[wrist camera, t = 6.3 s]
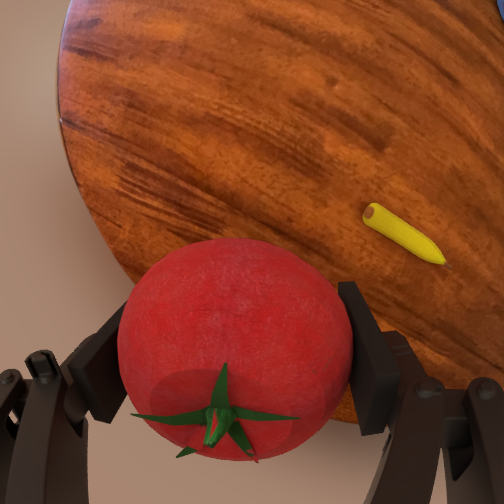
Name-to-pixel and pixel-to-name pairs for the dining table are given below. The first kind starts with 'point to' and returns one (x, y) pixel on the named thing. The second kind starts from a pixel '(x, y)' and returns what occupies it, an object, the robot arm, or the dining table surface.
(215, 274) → the tomato
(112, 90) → the dining table surface
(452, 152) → the dining table surface
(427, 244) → the fruit
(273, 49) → the dining table surface
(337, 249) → the dining table surface
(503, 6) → the bowl
